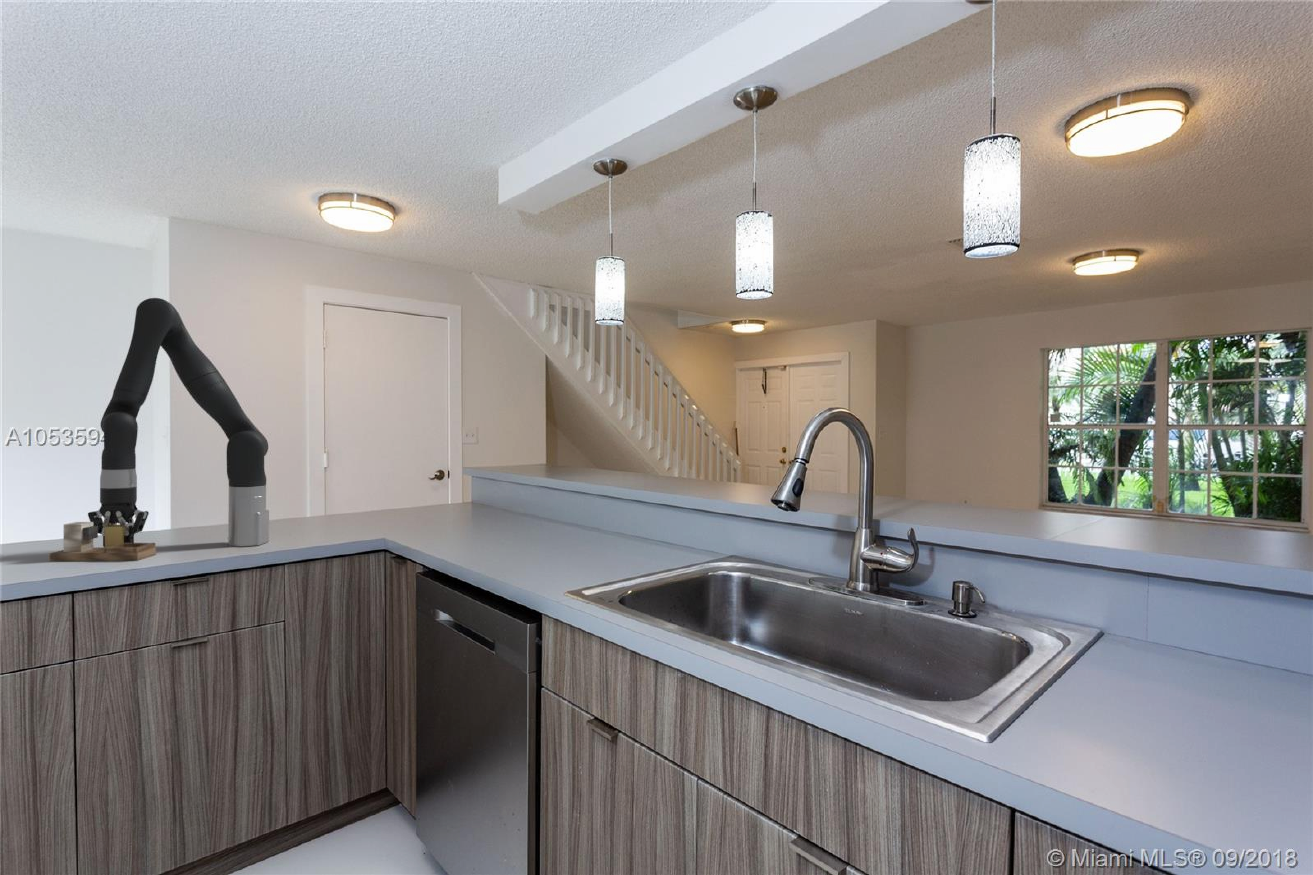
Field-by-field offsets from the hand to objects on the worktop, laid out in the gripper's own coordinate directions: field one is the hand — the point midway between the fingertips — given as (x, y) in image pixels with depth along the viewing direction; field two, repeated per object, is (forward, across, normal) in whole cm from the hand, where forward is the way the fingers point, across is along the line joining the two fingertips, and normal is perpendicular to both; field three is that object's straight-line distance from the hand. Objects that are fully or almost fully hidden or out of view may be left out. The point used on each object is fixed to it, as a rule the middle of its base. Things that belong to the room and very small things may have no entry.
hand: (118, 548), depth 167 cm
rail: (+1, -2, +8) cm, 8 cm away
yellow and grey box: (+1, 0, 0) cm, 1 cm away
